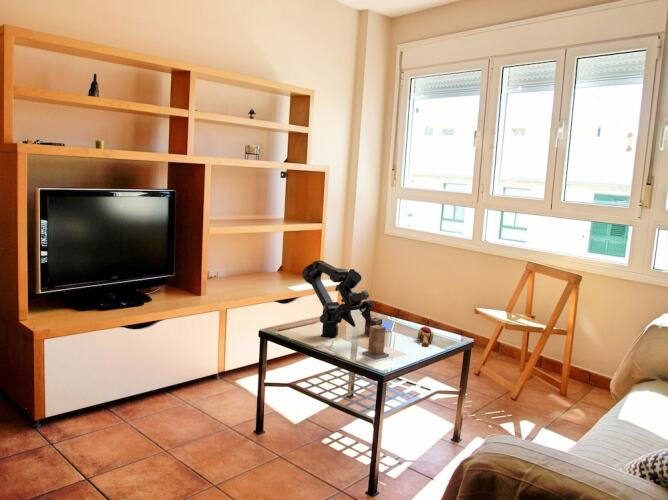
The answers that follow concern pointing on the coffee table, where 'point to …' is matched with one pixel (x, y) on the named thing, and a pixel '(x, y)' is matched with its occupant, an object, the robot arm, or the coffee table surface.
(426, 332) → the kendama
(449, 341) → the coffee table surface
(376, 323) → the box
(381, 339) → the pillar
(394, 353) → the plate
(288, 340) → the coffee table surface
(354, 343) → the coffee table surface
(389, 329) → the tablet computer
